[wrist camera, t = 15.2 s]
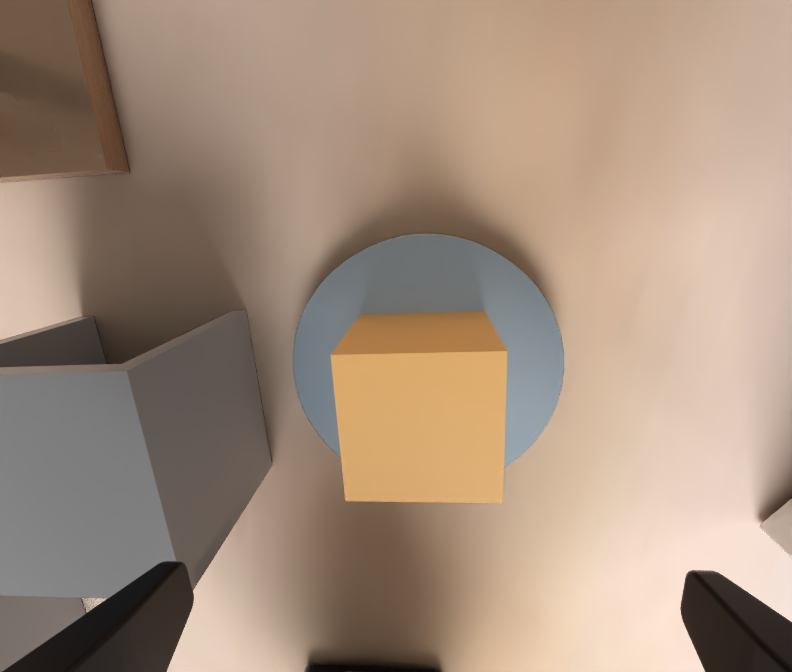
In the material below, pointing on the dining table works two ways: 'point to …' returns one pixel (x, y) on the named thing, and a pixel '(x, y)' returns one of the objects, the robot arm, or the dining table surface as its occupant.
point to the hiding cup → (32, 623)
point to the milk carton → (780, 527)
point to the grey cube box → (123, 455)
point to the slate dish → (435, 292)
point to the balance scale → (55, 94)
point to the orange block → (421, 408)
